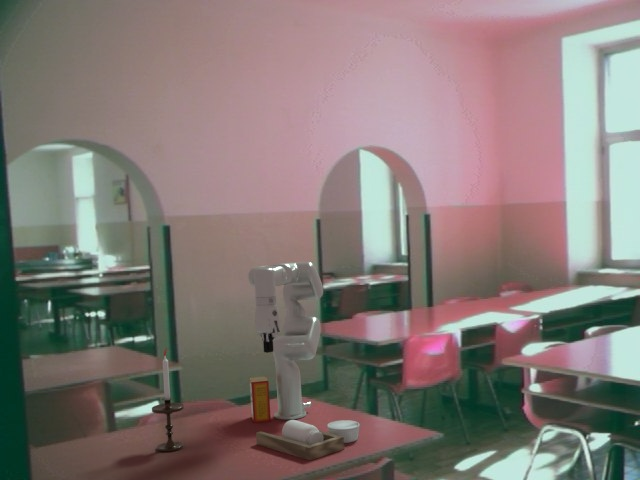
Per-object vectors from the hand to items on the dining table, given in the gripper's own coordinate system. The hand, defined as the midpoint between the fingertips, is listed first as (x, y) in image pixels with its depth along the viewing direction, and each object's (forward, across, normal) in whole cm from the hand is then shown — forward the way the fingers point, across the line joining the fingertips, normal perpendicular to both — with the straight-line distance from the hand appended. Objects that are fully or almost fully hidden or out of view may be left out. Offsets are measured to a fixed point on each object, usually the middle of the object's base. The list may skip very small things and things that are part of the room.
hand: (268, 351), depth 259 cm
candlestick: (+29, +13, +35) cm, 47 cm away
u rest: (+29, -22, +6) cm, 37 cm away
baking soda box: (+29, +18, -8) cm, 35 cm away
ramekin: (+30, -28, -9) cm, 42 cm away
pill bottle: (+25, -16, +5) cm, 30 cm away
